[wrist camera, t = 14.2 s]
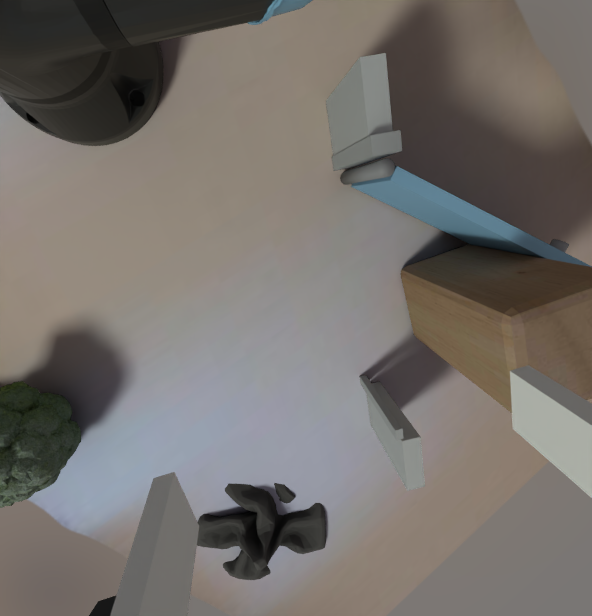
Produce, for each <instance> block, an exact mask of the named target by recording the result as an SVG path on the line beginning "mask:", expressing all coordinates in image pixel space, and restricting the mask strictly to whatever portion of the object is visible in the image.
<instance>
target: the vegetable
mask: <svg viewBox="0 0 592 616" xmlns="http://www.w3.org/2000/svg"><path fill="white" fill-rule="evenodd" d="M71 414H72V409H71V405H70V404H69V402H68V401H67V400H66V399H65V397H63V396H60V395H55V394H52V393H42V394H41V393H39V391H38V389H36V388H31V387H29V385H27V384H26V383H24V382H23V381H21V382H14V383H13V384H11V385H6V386H3V387H1V388H0V508H2V507H4V506H12V505H13V503H14V502H19V501H23V500H25V499H28V498H29V497H31V496H32V495H33V494H34V493H35V492H37V491H40V490H42V489H44V488H46V487H48V486H50V485H52V484H53V483H54V482H55V481H56V480H57V478H58V475H59V474H60V470H61V469H62V468H64V467H65V465H66V463H67V461H68V459H69V458H70V457H71V456H72V455H73V454H74V452H75V451H76V449H77V447H78V445H79V443H80V442H81V431H80V428H79V426H78V424H77V423H76V422H74V421H71V419H70V417H71Z"/></svg>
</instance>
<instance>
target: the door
mask: <svg viewBox="0 0 592 616" xmlns="http://www.w3.org/2000/svg"><path fill="white" fill-rule="evenodd" d="M340 180H341V182H342V183H343V184H345V185H347V184H352V186H351V187H353V188H355V189H357V190H359V191H361V192H363V193H365V194H368V195H370V196H372V197H374V198H376V199H378V200H380V201H382V202H384V203H386V204H388V205H390V206H392V207H394V208H396V209H399V210H401V211H403V212H405V213H407V214H409V215H411V216H413V217H415V218H417V219H419V220H421V221H423V222H425V223H427V224H430V225H432V226H434V227H436V228H438V229H440V230H442V231H444V232H446V233H448V234H450V235H452V236H454V237H456V238H458V239H461V240H463V241H465V242H467V243H469V244H471V245H475V246H481V247H486V248H491V249H497V250H502V251H508V252H513V253H518V254H524V255H529V256H535V257H540V258H546V259H551V260H557V261H562V262H567V263H573V264H578V265H584V266H589V267H592V266H590V265H588V264H586V263H584V262H582V261H580V260H578V259H576V258H574V257H572V256H570V255H568V254H566V253H565V251H566V249H567V248H568V246H569V244H568V243H566V242H563V241H560V240H556V239H553V240H552V241H551V243H550V245H549V244H547V243H545V242H543V241H541V240H539V239H537V238H535V237H533V236H531V235H530V234H528V233H526V232H524V231H522V230H520V229H518V228H516V227H514V226H512V225H510V224H508V223H506V222H504V221H502V220H500V219H499V218H497V217H495V216H493V215H491V214H489V213H487V212H485V211H483V210H481V209H479V208H477V207H475V206H473V205H471V204H469V203H468V202H466V201H464V200H462V199H460V198H458V197H456V196H454V195H452V194H450V193H448V192H446V191H444V190H442V189H440V188H438V187H437V186H435V185H433V184H431V183H429V182H427V181H425V180H423V179H421V178H419V177H417V176H415V175H413V174H411V173H409V172H407V171H406V170H404V169H402V168H400V167H398V166H395V164H394V162H393V161H392V160H391V159H388V158H386V159H382V160H379V161H376V162H373V163H370V164H367V165H364V166H361V167H358V168H355V169H351V170H348V171H345V172H343V173H342V174H341V177H340Z"/></svg>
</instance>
